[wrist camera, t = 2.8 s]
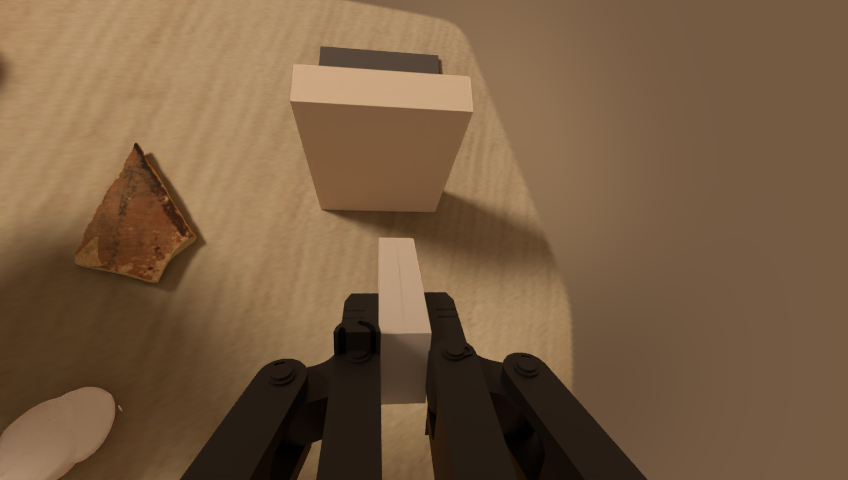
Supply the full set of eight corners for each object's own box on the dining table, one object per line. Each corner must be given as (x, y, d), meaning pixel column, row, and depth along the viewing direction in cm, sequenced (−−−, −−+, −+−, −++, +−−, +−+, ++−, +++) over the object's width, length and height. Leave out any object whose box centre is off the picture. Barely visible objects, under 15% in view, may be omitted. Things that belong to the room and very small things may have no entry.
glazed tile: (321, 209, 34) (290, 100, 21) (322, 182, 35) (294, 61, 22) (434, 212, 35) (473, 111, 22) (433, 185, 36) (469, 74, 23)
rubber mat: (312, 170, 35) (311, 168, 34) (321, 49, 40) (320, 46, 39) (443, 175, 36) (444, 173, 36) (437, 58, 41) (438, 55, 41)
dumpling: (33, 503, 25) (-27, 525, 21) (7, 428, 26) (-54, 435, 22) (147, 434, 27) (111, 443, 23) (119, 367, 28) (80, 365, 24)
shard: (145, 151, 34) (133, 139, 32) (231, 173, 34) (224, 162, 33) (79, 267, 30) (62, 261, 28) (178, 290, 30) (167, 285, 29)
